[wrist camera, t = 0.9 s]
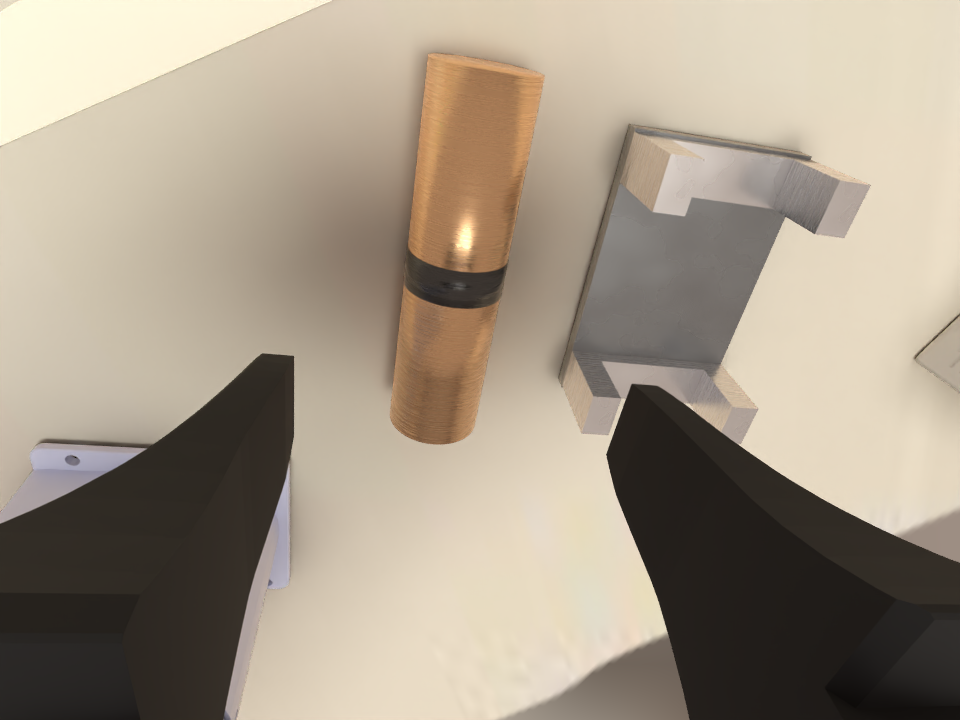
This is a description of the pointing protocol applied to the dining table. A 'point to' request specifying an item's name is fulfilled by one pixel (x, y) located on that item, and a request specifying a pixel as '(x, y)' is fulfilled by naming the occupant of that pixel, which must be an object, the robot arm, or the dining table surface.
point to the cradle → (688, 268)
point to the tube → (459, 238)
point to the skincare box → (944, 356)
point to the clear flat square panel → (111, 48)
